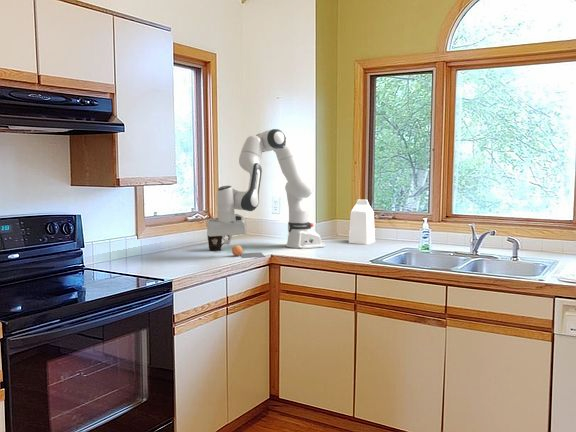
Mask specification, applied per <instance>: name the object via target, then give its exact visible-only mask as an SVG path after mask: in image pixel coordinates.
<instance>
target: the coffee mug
mask: <svg viewBox="0 0 576 432" xmlns="http://www.w3.org/2000/svg"><path fill="white" fill-rule="evenodd" d="M206 236H207V243H208V248H209V249H208V250H209V251H210V252H219V251H221V250H222V246H223V245H225V244H224V242H223V238H222V236H211V237H209V236H208V235H207V234H206ZM226 236H227V237H228V238H227V240H229V238H230V237H229V235H226Z"/></svg>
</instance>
